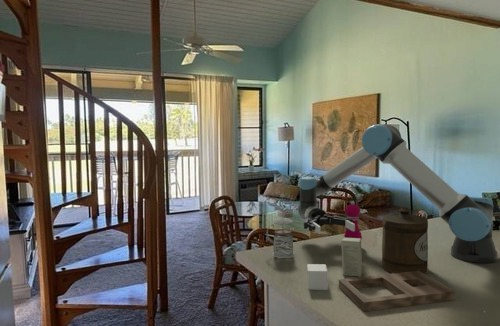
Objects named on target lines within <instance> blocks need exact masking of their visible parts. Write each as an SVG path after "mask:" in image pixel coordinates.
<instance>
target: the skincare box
mask: <svg viewBox="0 0 500 326" xmlns="http://www.w3.org/2000/svg"><path fill="white" fill-rule="evenodd" d="M340 241H341V243H340V244H341V245H340V246H341V262H342V263H341V266H342V275H343V276H351V277H362V275H363V258H362V256H363V255H362V254H363V253H362V239H361V238H345V237H342V239H341V240H340Z"/></svg>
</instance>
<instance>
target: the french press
mask: <svg viewBox="0 0 500 326" xmlns="http://www.w3.org/2000/svg"><path fill="white" fill-rule="evenodd" d="M279 197H280V198H281V207H282V208H281V210H282V211H281V213H282V217H277V218H276V219H274V220H273V221H272V223H273V224H270V225H269V226H268V227H267V229H266V232H265V233H266V238H267V239H268V241H269V242H270V243H272V244H273V245H272V246H273V252H272V254H271V256H272V257H273V256H274V257H273V258H275V257H277V258H276V259H280V258H288V259H293V258H294V257H296V253H295V252H294V238H293V237H294V235H293V234H292V233H293V230H291V229H288V228H287V229H286V228H281V229H274V228H275V225H278V226H279V225H281V226H286V225H292V224H293V223H294V222H293V220H292V219H290V218H288V217H284V209H283V208H284V206H283V202H284V200H283V198H284V197H285V194H284V193H281V194H280V195H279ZM271 227H272V229H274V235H273V240H272V239H271V238H270V236H269V229H270V228H271Z"/></svg>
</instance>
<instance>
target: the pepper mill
mask: <svg viewBox="0 0 500 326" xmlns="http://www.w3.org/2000/svg"><path fill="white" fill-rule="evenodd" d="M344 211H345V214H346V218H349V219H353V223H354V224H355V231H351V230H350V229H348V228H346V230H345V232H344V235H343V236H344V237H345V238H361V240H363V239H362V238H363V236H362V232H361V231H360V228H359V225H358V222H359V220H360V216H359V215H360V214H361V209H360V207H359V205H357V204H355V201H354V200H350V204H347V206H345V210H344Z"/></svg>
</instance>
